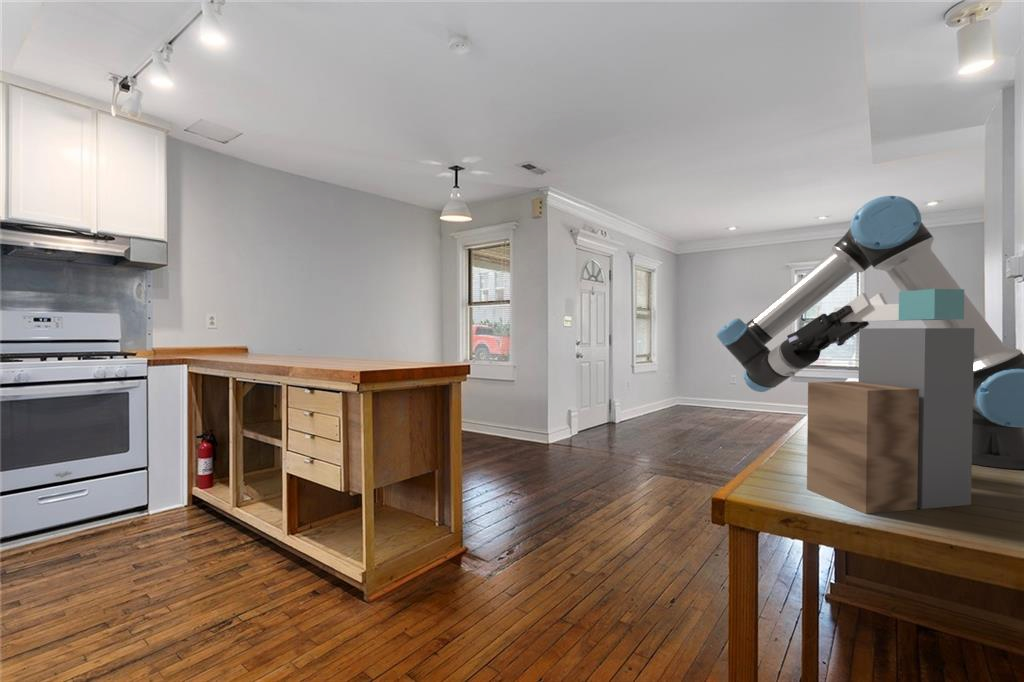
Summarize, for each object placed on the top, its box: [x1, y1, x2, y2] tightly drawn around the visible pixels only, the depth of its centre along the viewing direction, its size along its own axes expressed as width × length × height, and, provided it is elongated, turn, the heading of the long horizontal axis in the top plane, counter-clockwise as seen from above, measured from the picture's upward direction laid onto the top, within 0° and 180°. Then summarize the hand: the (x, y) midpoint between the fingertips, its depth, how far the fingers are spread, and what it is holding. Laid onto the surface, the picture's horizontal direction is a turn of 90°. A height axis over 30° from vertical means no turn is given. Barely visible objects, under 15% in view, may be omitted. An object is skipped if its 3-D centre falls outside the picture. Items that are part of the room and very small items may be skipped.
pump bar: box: [833, 288, 965, 322], centre depth 88 cm, size 6×21×5 cm, turn 10°
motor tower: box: [858, 327, 974, 510], centre depth 84 cm, size 10×12×30 cm
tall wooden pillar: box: [806, 380, 919, 514], centre depth 83 cm, size 10×12×20 cm
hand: (874, 299), depth 91 cm, fingers closed on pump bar, 3 cm apart
